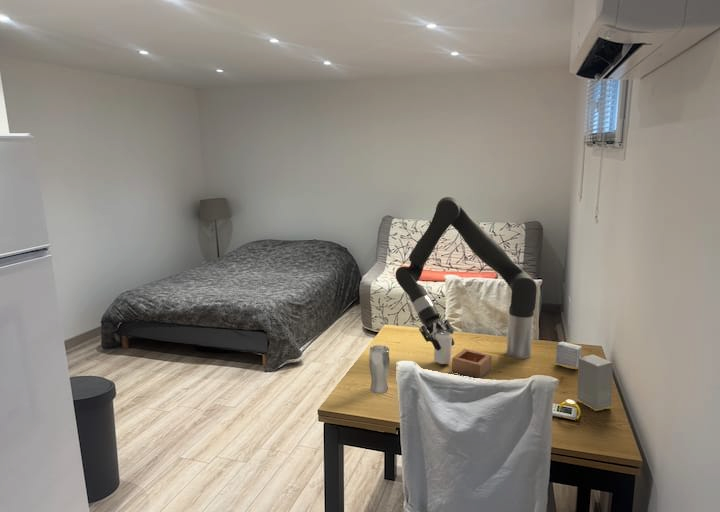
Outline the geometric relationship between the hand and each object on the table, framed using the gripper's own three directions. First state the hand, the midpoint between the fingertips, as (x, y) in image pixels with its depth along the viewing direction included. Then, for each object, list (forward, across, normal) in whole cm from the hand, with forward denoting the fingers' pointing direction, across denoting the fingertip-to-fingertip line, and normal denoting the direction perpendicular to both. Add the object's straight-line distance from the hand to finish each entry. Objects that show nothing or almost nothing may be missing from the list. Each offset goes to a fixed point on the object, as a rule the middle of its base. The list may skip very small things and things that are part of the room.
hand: (445, 347), depth 191 cm
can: (+3, 0, +6) cm, 7 cm away
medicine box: (+25, +38, -14) cm, 47 cm away
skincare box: (+40, +17, -30) cm, 53 cm away
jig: (+12, +4, -2) cm, 13 cm away
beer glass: (+7, -33, +4) cm, 34 cm away
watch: (+41, +4, -30) cm, 51 cm away
